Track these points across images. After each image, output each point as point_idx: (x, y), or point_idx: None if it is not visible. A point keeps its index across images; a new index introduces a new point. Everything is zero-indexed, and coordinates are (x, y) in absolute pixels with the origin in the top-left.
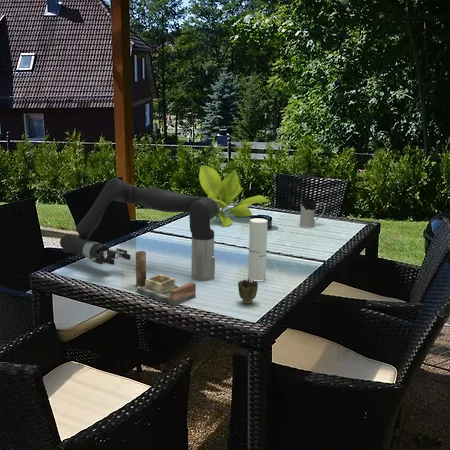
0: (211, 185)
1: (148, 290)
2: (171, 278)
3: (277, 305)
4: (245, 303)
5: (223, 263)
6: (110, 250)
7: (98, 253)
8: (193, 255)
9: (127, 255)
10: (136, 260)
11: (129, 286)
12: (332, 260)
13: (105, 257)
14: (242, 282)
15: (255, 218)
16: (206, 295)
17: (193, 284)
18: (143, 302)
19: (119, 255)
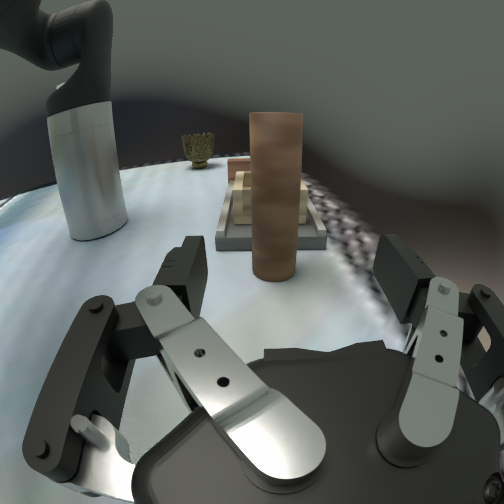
0: None
1: (312, 207)
2: (240, 173)
3: (186, 160)
4: (207, 164)
5: (3, 246)
6: (293, 408)
7: (491, 473)
8: (107, 155)
9: (199, 251)
10: (301, 149)
11: (313, 291)
12: (10, 196)
13: (446, 282)
14: (190, 140)
15: (58, 85)
16: (208, 187)
17: (235, 159)
18: (344, 215)
19: (174, 379)
